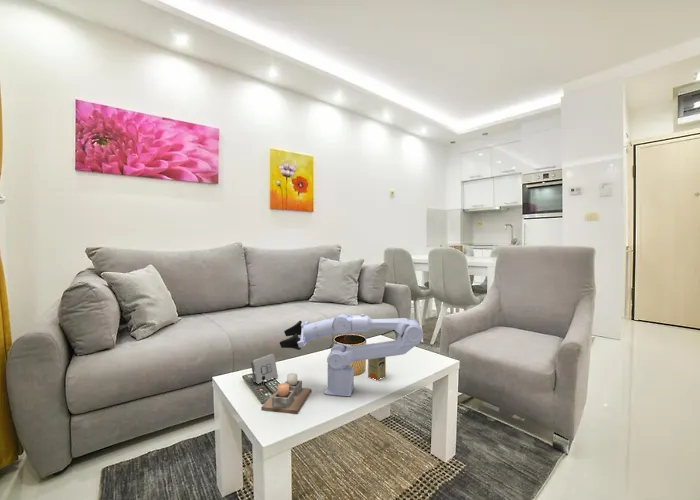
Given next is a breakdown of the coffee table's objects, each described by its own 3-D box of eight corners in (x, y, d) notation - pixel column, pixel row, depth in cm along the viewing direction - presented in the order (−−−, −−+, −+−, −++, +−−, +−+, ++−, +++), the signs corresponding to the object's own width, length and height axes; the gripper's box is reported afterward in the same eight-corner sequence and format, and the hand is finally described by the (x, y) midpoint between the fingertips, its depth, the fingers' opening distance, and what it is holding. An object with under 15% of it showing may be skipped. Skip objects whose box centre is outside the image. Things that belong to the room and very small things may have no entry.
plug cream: (298, 382, 111) (298, 373, 111) (295, 386, 107) (295, 378, 107) (289, 381, 111) (289, 372, 111) (285, 385, 108) (285, 377, 108)
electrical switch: (258, 386, 116) (256, 361, 116) (250, 383, 119) (248, 359, 119) (278, 378, 123) (276, 354, 123) (270, 376, 126) (268, 352, 127)
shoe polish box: (368, 377, 124) (368, 347, 124) (375, 373, 128) (376, 344, 127) (377, 380, 121) (377, 350, 120) (385, 377, 124) (385, 347, 124)
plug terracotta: (290, 392, 103) (290, 383, 103) (286, 397, 99) (286, 388, 99) (280, 391, 103) (280, 382, 103) (275, 396, 100) (275, 387, 100)
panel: (311, 391, 112) (311, 380, 112) (297, 413, 97) (297, 401, 97) (280, 388, 114) (280, 377, 114) (261, 410, 99) (261, 397, 99)
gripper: (316, 310, 119) (283, 319, 120) (311, 330, 105) (274, 340, 106) (322, 326, 121) (289, 335, 122) (318, 348, 107) (281, 358, 108)
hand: (282, 339), depth 114 cm, fingers open, 7 cm apart
